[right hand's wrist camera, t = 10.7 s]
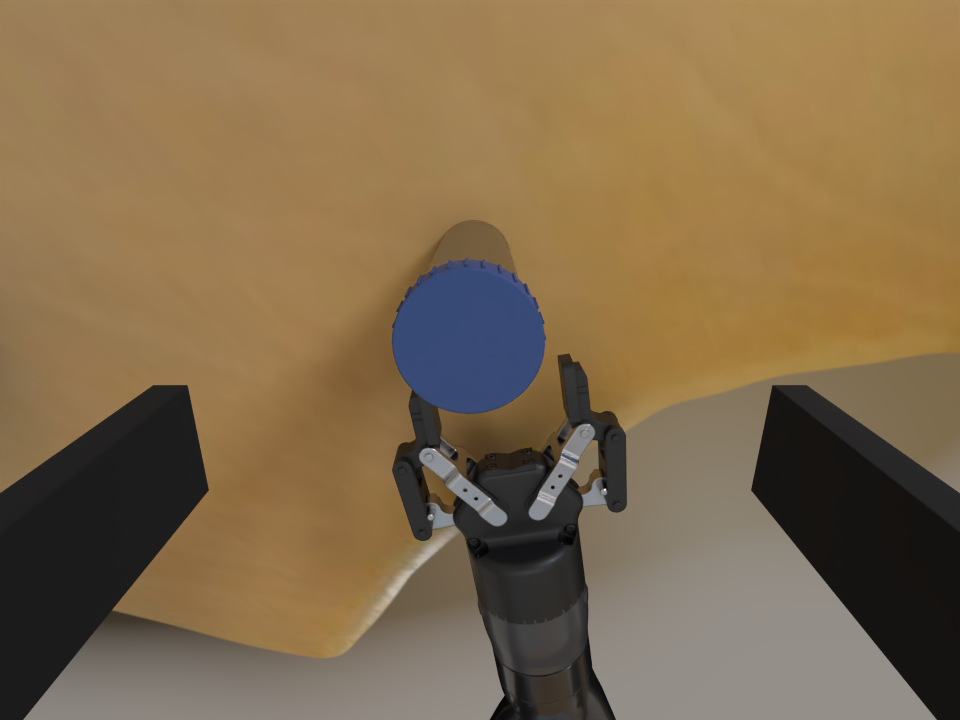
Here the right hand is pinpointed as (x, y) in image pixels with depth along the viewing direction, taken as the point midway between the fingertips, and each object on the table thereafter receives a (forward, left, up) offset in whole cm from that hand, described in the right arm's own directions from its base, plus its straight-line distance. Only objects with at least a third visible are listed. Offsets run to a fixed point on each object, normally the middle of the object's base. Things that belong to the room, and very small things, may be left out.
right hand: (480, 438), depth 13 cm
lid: (0, 0, -8) cm, 8 cm away
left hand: (+4, -4, -19) cm, 20 cm away
